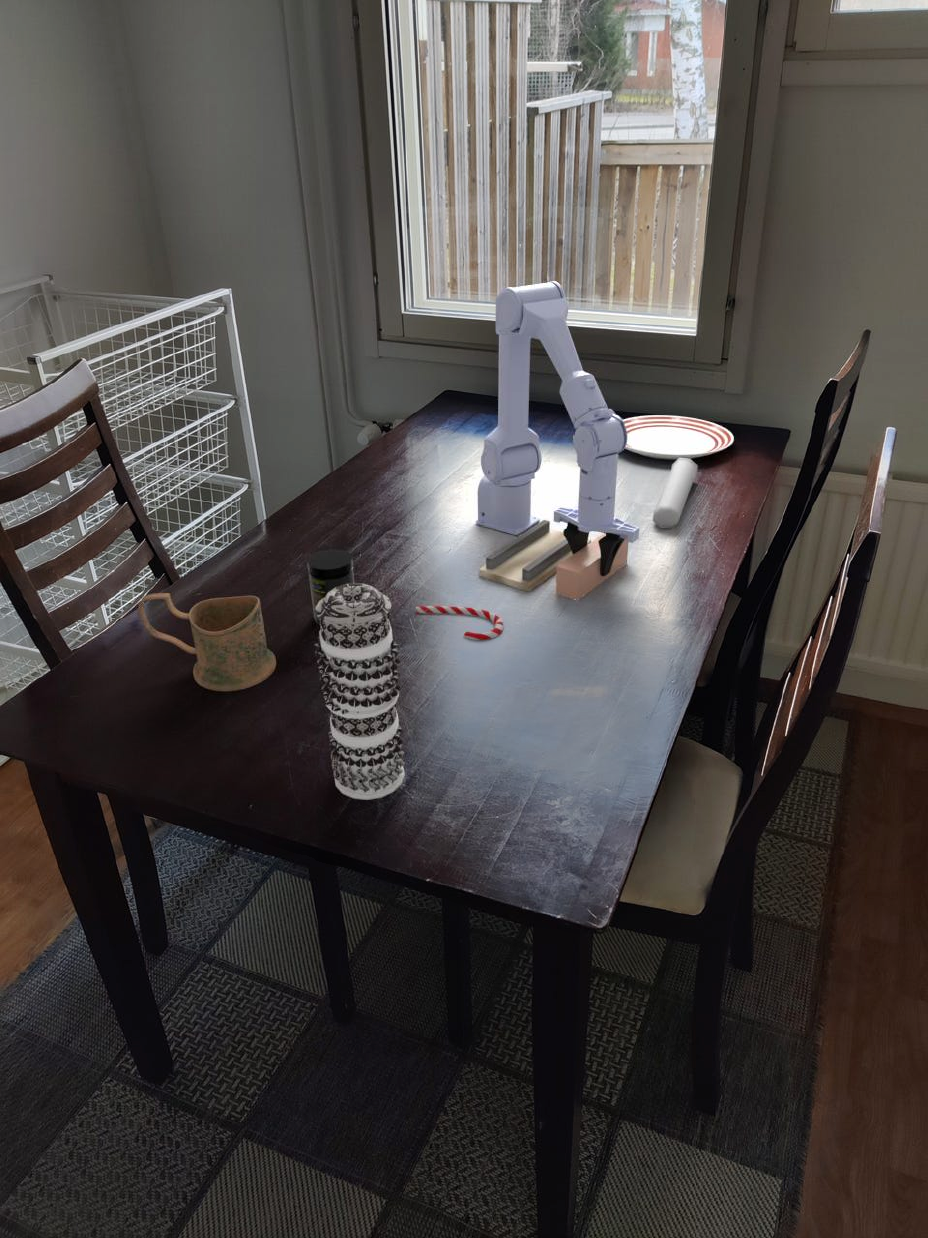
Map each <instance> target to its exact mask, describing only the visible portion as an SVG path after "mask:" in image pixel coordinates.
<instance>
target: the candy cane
mask: <svg viewBox="0 0 928 1238" xmlns="http://www.w3.org/2000/svg"><path fill="white" fill-rule="evenodd" d="M414 613H415V614H445V615H446V614H449V615H450V614H451V615H467V616H474V617H479V618H483V619H487V620H488V619H489V620H488V621H491V623H493V624H494V628H493V629H491V630H489V631H487V632H481V633H479V632H478V633H477V632H471V631H465V632H464V634H463V637H464V638H465V639H468V640H469V639H470V640H474V641H486V640H491V639H493V638H496V637H498V636H500V635H501V634H502V632H503V630H504V623H503V620H502V619H501V618H500V616H498V615H496V614H495V613H494V612H491V611H488V610H485V609H480V608H475V607H467V606H466V607H465V606H451V605H450V606H448V605H447V606H445V605H444V606H443V605H442V606H441V605H424V606H423V605H421V606H416V607H415V610H414Z"/></svg>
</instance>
